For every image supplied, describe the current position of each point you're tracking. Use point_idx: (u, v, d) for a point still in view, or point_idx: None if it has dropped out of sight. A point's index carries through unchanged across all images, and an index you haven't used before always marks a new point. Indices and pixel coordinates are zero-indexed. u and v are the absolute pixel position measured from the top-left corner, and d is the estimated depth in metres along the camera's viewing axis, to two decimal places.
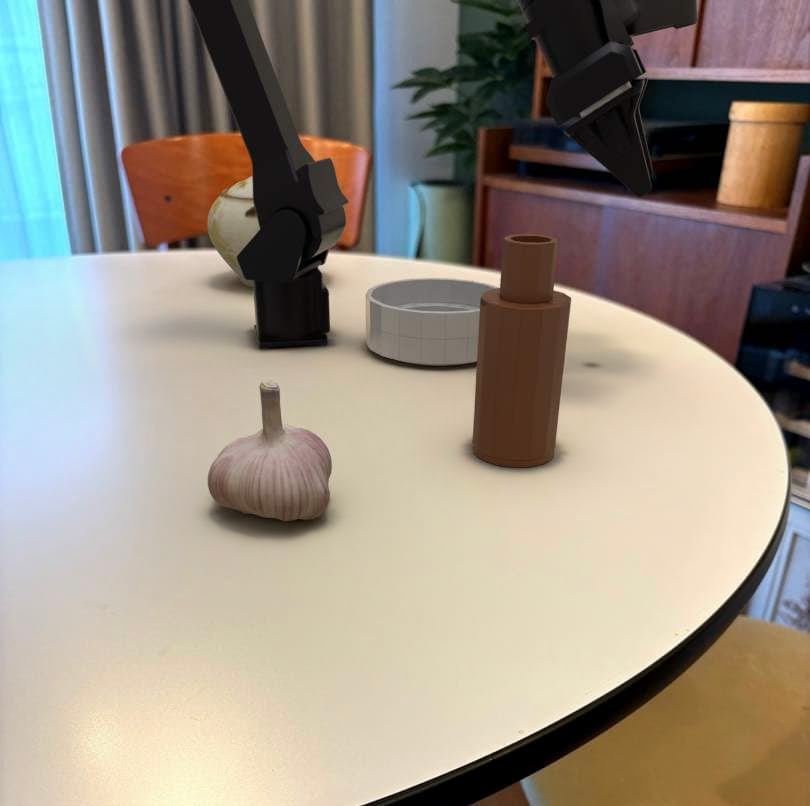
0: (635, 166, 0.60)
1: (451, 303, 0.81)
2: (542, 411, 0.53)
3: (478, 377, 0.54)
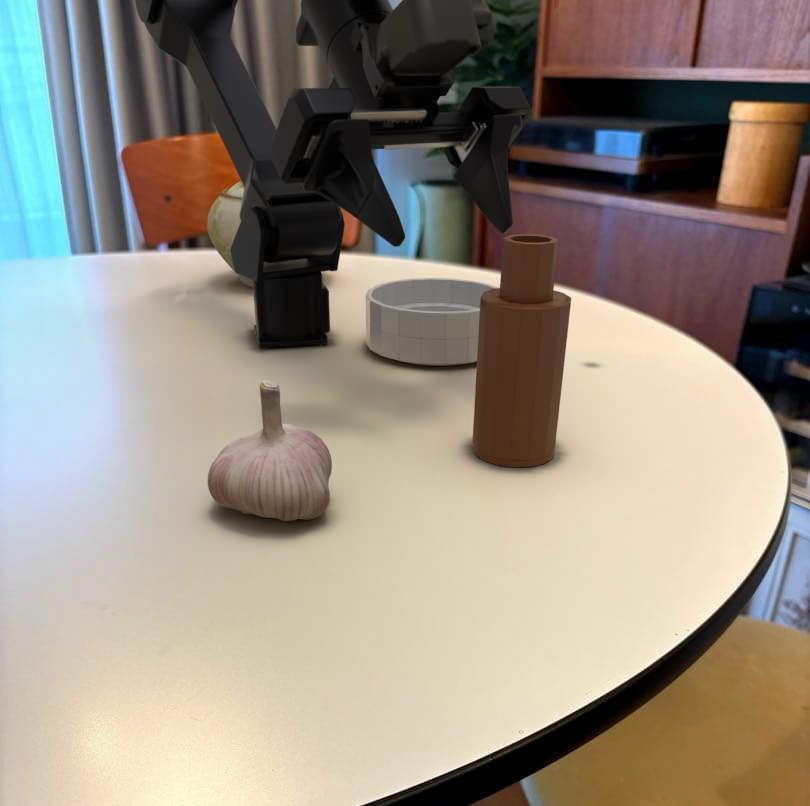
0: (380, 213, 0.53)
1: (451, 303, 0.81)
2: (542, 411, 0.53)
3: (478, 377, 0.54)
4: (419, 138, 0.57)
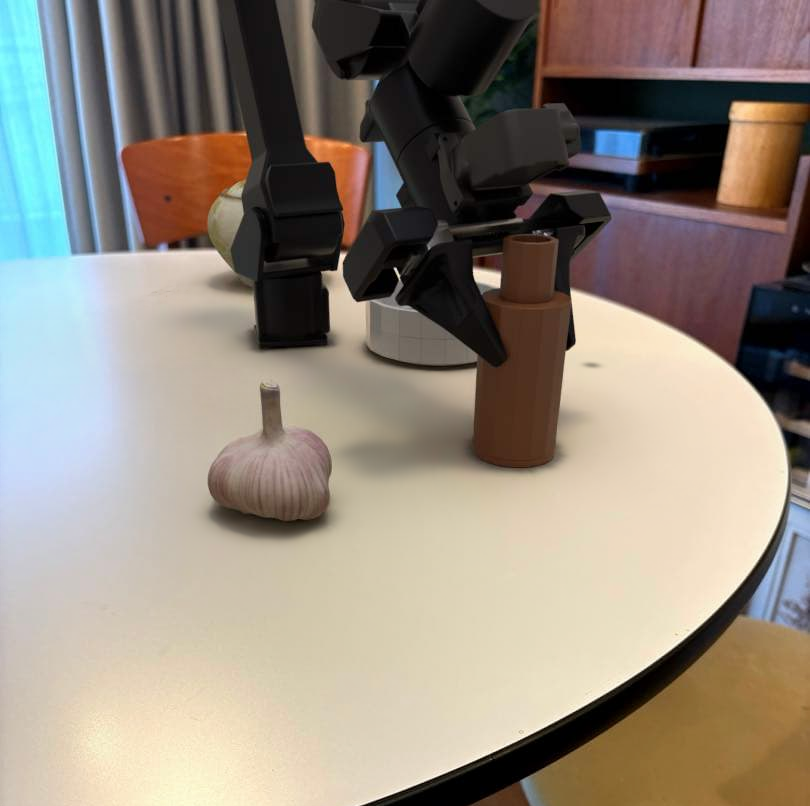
0: (480, 334, 0.51)
1: None
2: (542, 411, 0.53)
3: (478, 377, 0.54)
4: (476, 252, 0.53)
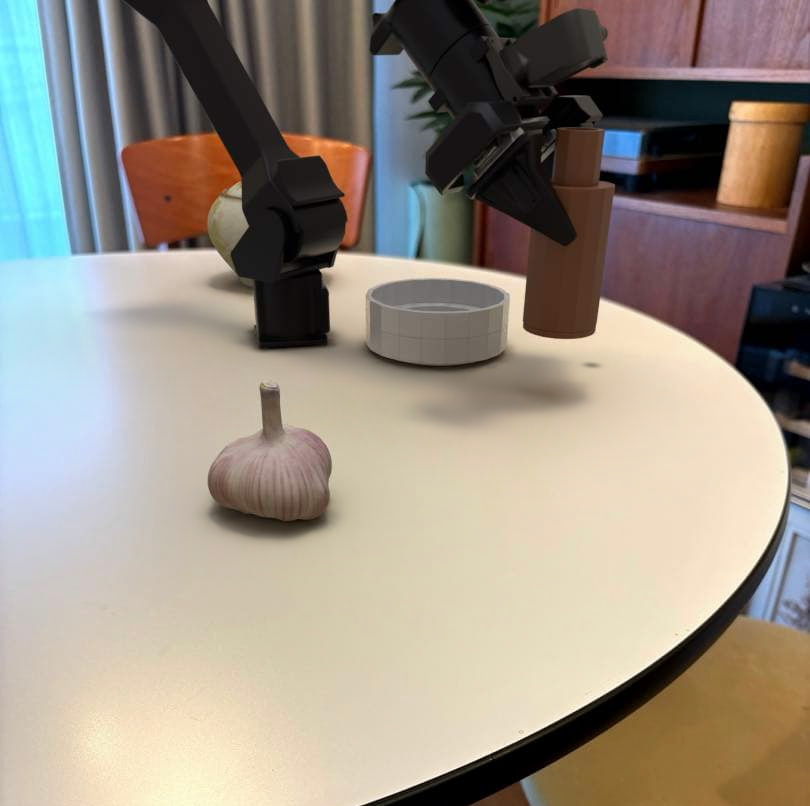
0: (552, 216, 0.57)
1: (451, 303, 0.81)
2: (597, 284, 0.61)
3: (538, 261, 0.60)
4: None
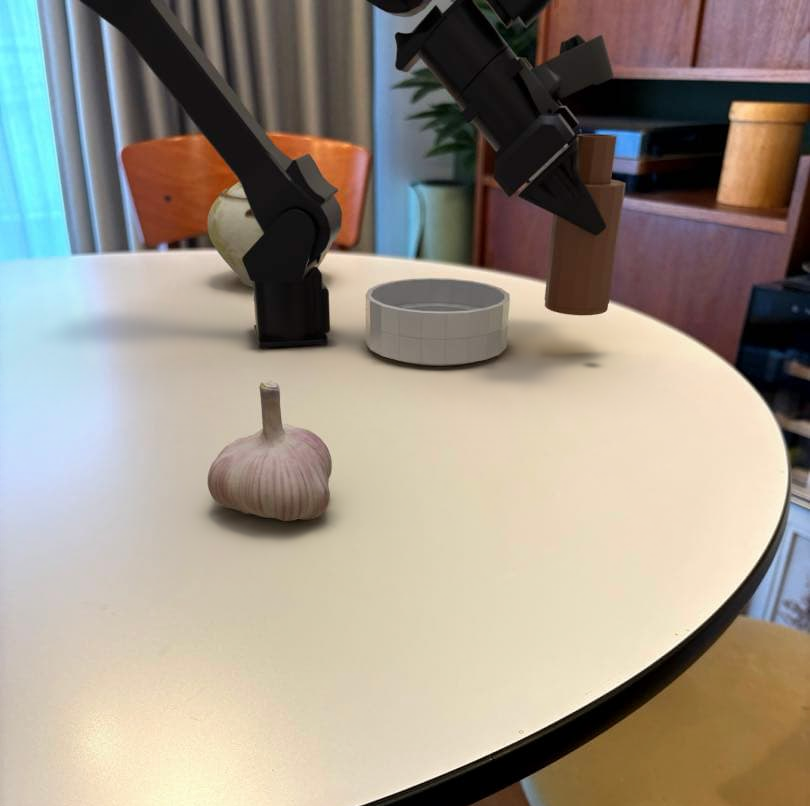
0: (587, 210, 0.67)
1: (451, 303, 0.81)
2: (613, 266, 0.72)
3: (568, 249, 0.70)
4: None
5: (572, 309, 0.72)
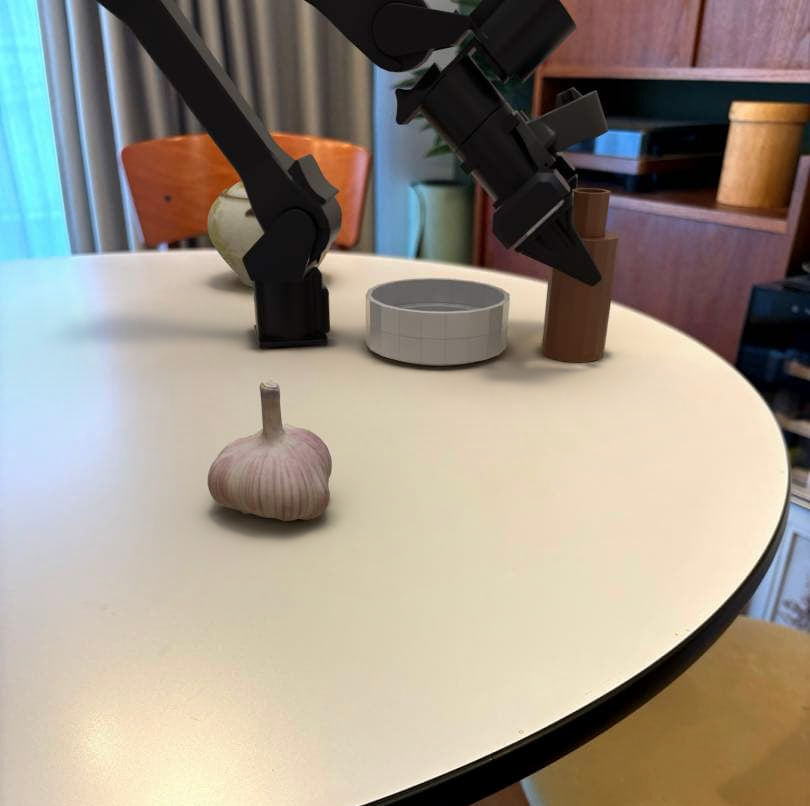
0: (583, 263, 0.68)
1: (451, 303, 0.81)
2: (608, 314, 0.74)
3: (565, 300, 0.72)
4: None
5: (569, 356, 0.74)
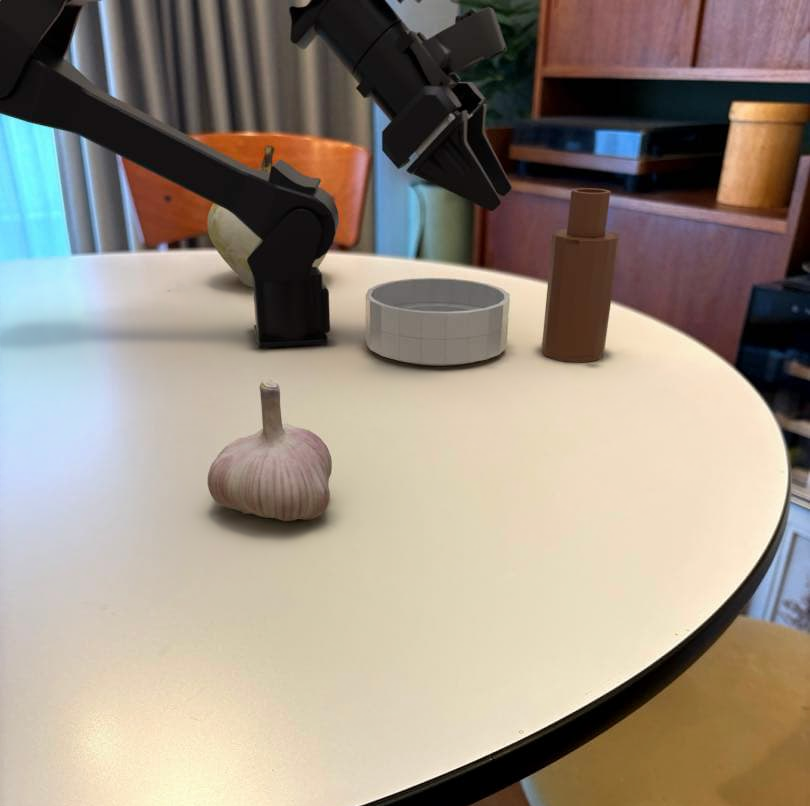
0: (480, 186, 0.66)
1: (451, 303, 0.81)
2: (608, 314, 0.74)
3: (565, 300, 0.72)
4: None
5: (569, 356, 0.74)
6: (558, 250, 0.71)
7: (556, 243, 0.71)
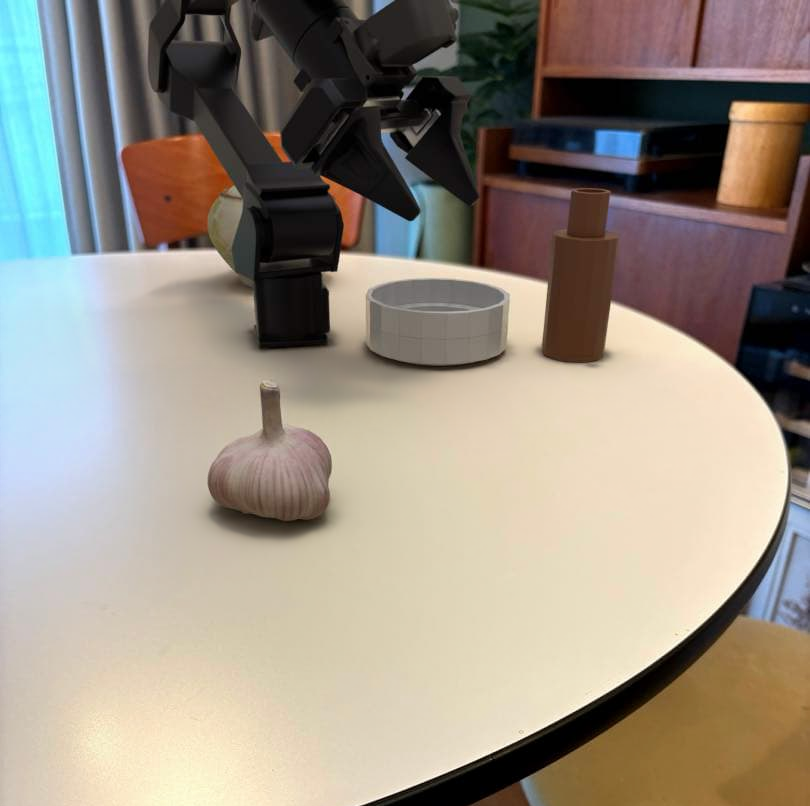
0: (395, 192, 0.59)
1: (451, 303, 0.81)
2: (608, 314, 0.74)
3: (565, 300, 0.72)
4: (392, 123, 0.63)
5: (569, 356, 0.74)
6: (558, 250, 0.71)
7: (556, 243, 0.71)
